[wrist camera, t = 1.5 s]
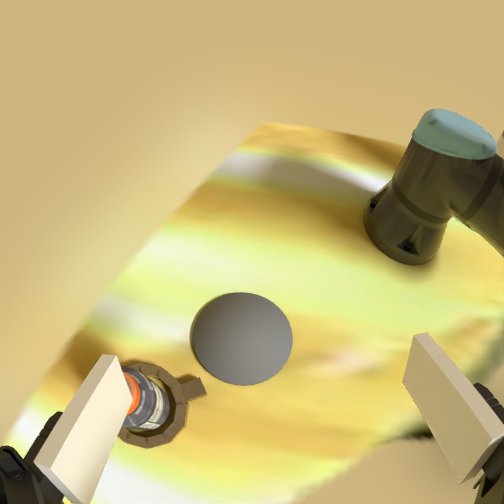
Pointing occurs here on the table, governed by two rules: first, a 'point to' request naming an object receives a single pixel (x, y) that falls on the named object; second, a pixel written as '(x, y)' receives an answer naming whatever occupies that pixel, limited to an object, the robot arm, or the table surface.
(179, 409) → the collar
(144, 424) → the pill bottle
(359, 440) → the table surface
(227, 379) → the coaster
